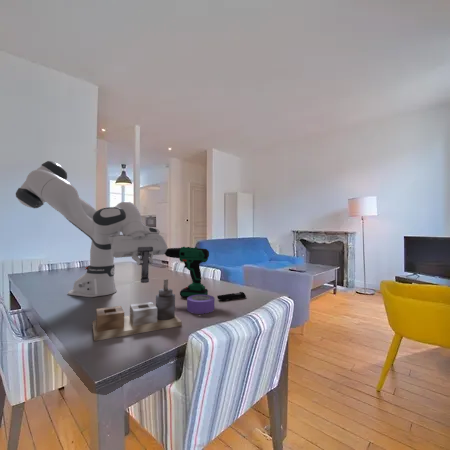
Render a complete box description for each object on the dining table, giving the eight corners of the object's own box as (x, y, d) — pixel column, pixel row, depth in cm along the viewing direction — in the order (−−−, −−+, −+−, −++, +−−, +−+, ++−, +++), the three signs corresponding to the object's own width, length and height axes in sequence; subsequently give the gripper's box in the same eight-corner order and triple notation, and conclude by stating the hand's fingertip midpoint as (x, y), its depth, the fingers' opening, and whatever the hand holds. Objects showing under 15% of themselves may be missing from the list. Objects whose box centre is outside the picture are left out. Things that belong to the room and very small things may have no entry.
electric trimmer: (215, 300, 126) (215, 294, 126) (242, 296, 134) (242, 290, 134) (219, 303, 123) (219, 296, 123) (246, 298, 131) (246, 292, 131)
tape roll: (187, 305, 118) (188, 294, 118) (213, 305, 119) (214, 294, 119) (185, 314, 106) (186, 301, 106) (214, 314, 107) (215, 301, 107)
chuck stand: (94, 341, 80) (95, 290, 80) (92, 325, 93) (93, 281, 92) (181, 325, 94) (182, 282, 94) (170, 313, 106) (170, 275, 106)
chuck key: (139, 283, 91) (140, 247, 91) (136, 282, 94) (137, 246, 93) (153, 281, 95) (153, 246, 95) (149, 280, 97) (150, 246, 97)
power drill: (205, 299, 126) (206, 247, 126) (150, 295, 132) (151, 245, 132) (208, 296, 131) (209, 246, 131) (155, 292, 137) (156, 244, 137)
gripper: (109, 229, 93) (118, 260, 85) (162, 229, 106) (174, 256, 98) (105, 241, 96) (113, 271, 89) (157, 239, 109) (168, 266, 102)
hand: (145, 263), depth 94 cm, fingers closed on chuck key, 2 cm apart
